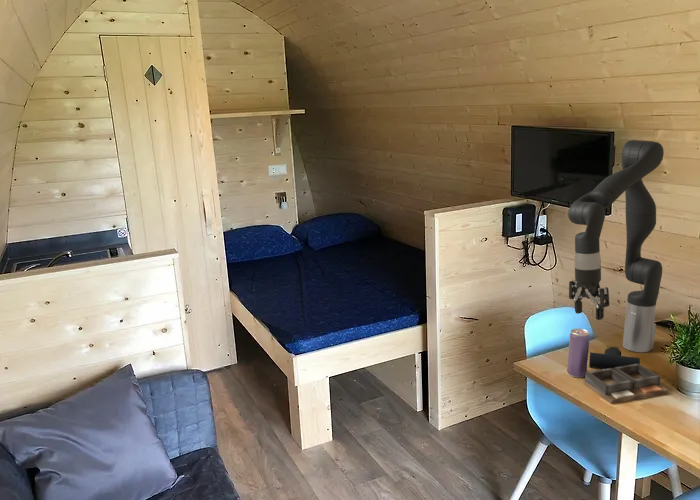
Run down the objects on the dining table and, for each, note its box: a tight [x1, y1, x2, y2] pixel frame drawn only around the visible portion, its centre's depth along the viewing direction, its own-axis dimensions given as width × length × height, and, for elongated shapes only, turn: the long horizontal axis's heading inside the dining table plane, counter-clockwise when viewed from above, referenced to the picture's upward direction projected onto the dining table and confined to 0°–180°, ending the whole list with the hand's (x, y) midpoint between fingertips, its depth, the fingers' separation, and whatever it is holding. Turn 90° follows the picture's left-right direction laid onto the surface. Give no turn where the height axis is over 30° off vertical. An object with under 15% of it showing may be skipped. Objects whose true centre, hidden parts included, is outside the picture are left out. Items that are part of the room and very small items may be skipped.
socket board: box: [583, 363, 669, 405], centre depth 182 cm, size 20×13×4 cm, turn 105°
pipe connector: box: [588, 344, 641, 370], centre depth 198 cm, size 12×5×15 cm
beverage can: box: [566, 328, 591, 379], centre depth 191 cm, size 6×6×15 cm
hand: (588, 316), depth 184 cm, fingers open, 8 cm apart
